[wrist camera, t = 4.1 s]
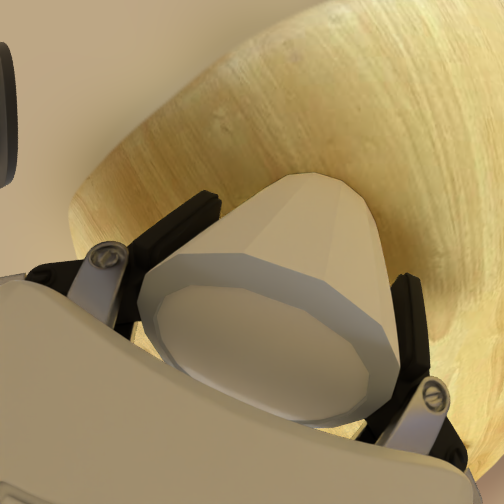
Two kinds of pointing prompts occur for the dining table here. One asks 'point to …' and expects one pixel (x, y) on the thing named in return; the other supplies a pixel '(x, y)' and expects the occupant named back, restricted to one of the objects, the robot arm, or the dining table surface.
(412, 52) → the dining table surface
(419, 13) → the dining table surface
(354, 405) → the white cup
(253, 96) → the dining table surface
